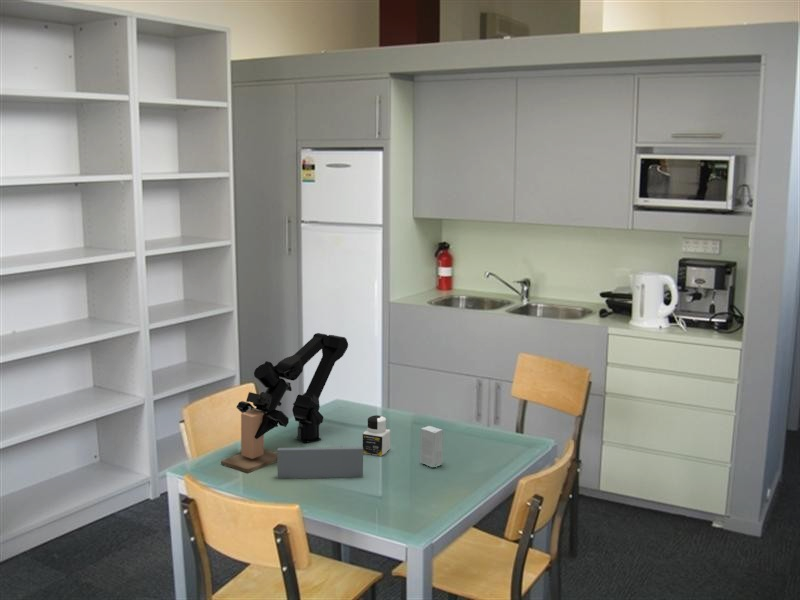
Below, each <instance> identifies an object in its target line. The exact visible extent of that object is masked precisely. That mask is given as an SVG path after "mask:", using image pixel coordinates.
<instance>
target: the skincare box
mask: <svg viewBox="0 0 800 600" xmlns="http://www.w3.org/2000/svg"><path fill="white" fill-rule="evenodd" d="M443 434H444V431H443V429H441V428H438V427H435V426H431V425H427V426H424V427H421V428H420V458H419V460H420V461H419V462H422V463H426V464H428V465H431V466H436V465H437V464H439V463H442V464H443V442H444V440H443V438H444V437H443Z"/></svg>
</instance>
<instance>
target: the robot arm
mask: <svg viewBox="0 0 800 600" xmlns="http://www.w3.org/2000/svg"><path fill="white" fill-rule="evenodd" d="M348 347H349V342H348V339H347V338H346V337H344V336H339V335H335V334H327V333H326V334H325V333H320V332H317V333H314V334H313V336H312V337H311V339H310V340H308V341H307V342H306V343H305V344H304V345H302V347H300V348H299V349H298V350H297V351H296V352H295V353H294V354H292V355H291V356H287V357H285V358H282V360H280V361H278V362H277V364H275V365H274V364H273V363H272V362H270V361H267V360H266V361H265V362H264V363H263V364H260V365H259V366H258V367H256V368H255V369H254V372H253V376H254V377H255V379H256V380H257V381H258V382H259V383H260V384H261V385H262V386H263V387H264V388H266V390H265V391H262V392H260V393H255V392H252V391H248V394H247V397H246V401H243V400H242V401H239V402H238V404H237V405H236V407H235V408H236V409H238V411H239V412H241V413H244V412H247V411H249V410H252V409H253V410H256V411H259V412H262V413H264V415H263V418H262V423H261V425H260V427H259V429H258V431H257V433H256V435H255V438H256V439H258V438H259V437H261V436H262V435H263V434H264V435H265V434H267V433H268V432H269V431H271V430H273V429H274V428H278V427H279V426H281V427H284V428H287V426H288V424H289V421H290V420H289V419H290V418H289V417H288V416H287V415H286V414H285V413H284V412H283V411H282V410H278V409H277V408H278V407H281V405H282V404H283V403H282V402H281V400H282V398H283V397H284V395H285V393H286V391H289V392H292V386H291V385H292V383H291V382H288V381H286V380H289V381H296V380H297V379H298V378H299V377H300V376H301V374H302V373H303V371H304V366H305V365H306V364H308V362H309V361H310V360H311V359H312V358H314V357H315V356H316V355H317V354H318V353H319V352H320V351H321V353H322V357H321V358H320V360H319V363H318V365H317V367H316V369H315V371H314V374H313V376H312V378H311V379H310V382H309V384H308V387H307V389H306V391H305V392H304V393H303V394H298V395H296V398H295V401H294V402H293V403H292V405H293V406H292V410H291V411H292V415H293V417H294V420H295V422H298V426H297V436H296V438H297V439H298V440H299V441H301V442H302V443H304V444H305V443H306V444H307V443H312V442H316V441H321V440H322V438H321V437H320V425H321V424H322V423H323V422H324V416H323V414H322V413H321V412H320V411H319V410H320V408H321V407H320V406H321V405H320V397H321V394H322V392H323V390H324V388H325V386H326V384H327V381H328V379H329V378H330V377H329V376H330V375H331V372H332V370H333V368H334V366H335V363H336V362H337V361H339V360H340V359H341V358H342V357H344V355H345V353H346V351H347V350H348ZM251 403H252V404H251ZM255 407H256V408H255Z"/></svg>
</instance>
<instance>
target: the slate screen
mask: <svg viewBox="0 0 800 600" xmlns="http://www.w3.org/2000/svg"><path fill="white" fill-rule="evenodd" d="M276 453H277V463H276V464H277V479H314V478H315V479H317V478H318V479H319V478H325V477H326V478H362V477H361V476H363V477H364V453H363V446H325V447H324V446H322V447H320V446H318V447H316V446H315V447H309V446H308V447H277V451H276Z"/></svg>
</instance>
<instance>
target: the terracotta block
mask: <svg viewBox="0 0 800 600" xmlns="http://www.w3.org/2000/svg"><path fill="white" fill-rule="evenodd" d="M263 415H264V413H262V412H259V411H256V410H253V409H252V410H249V411H247V412H244V413H242V412H241V413H240V421H241V422H240V431H241V432H240V433H241V435H240V447H241V448H240V453H241V455H243V456H246V457H248V458H251V459H254V458H256V457H258V456H261V455H263V454H264V449H265V447H264V446H265V445H264V443H265V440H264V439H265V434H263V435H262V436H261V437H259V438H258V439H256V438H255V435H256V433H257V431H258V429H259V427H260V425H261V423H262V418H263Z"/></svg>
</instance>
